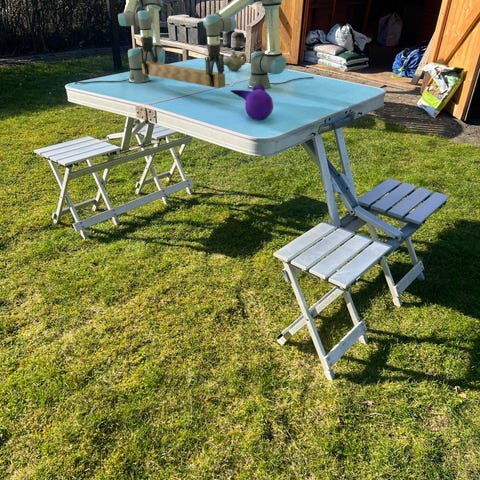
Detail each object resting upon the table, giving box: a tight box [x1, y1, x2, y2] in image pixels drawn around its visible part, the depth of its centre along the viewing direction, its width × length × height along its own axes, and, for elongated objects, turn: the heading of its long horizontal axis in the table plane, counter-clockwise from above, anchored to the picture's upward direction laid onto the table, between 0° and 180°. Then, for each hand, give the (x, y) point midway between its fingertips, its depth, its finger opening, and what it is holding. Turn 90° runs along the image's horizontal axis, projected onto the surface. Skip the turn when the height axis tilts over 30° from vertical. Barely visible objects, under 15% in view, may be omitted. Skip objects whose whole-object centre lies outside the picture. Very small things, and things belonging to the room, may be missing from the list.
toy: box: [230, 85, 274, 121], centre depth 242 cm, size 16×18×27 cm
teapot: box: [223, 51, 247, 72], centre depth 365 cm, size 21×12×15 cm, turn 120°
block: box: [142, 61, 226, 89], centre depth 289 cm, size 74×6×8 cm, turn 47°
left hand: (150, 73), depth 310 cm, fingers closed on block, 6 cm apart
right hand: (215, 85), depth 272 cm, fingers closed on block, 6 cm apart
